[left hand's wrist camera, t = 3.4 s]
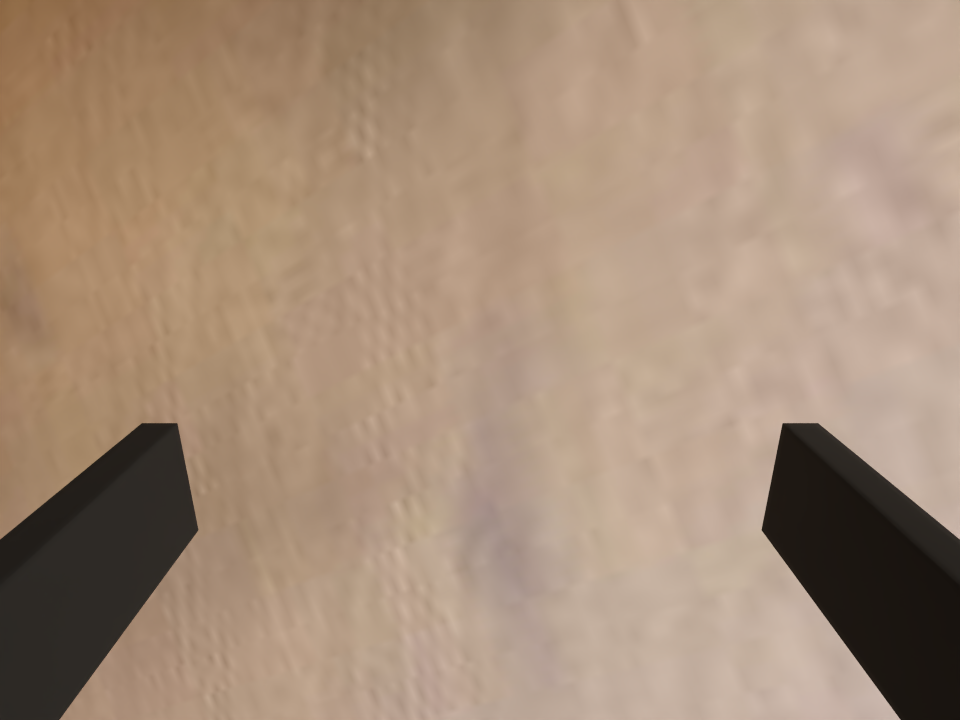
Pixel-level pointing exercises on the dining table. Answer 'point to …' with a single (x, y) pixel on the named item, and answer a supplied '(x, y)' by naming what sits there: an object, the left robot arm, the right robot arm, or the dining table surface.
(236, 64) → the dining table surface
